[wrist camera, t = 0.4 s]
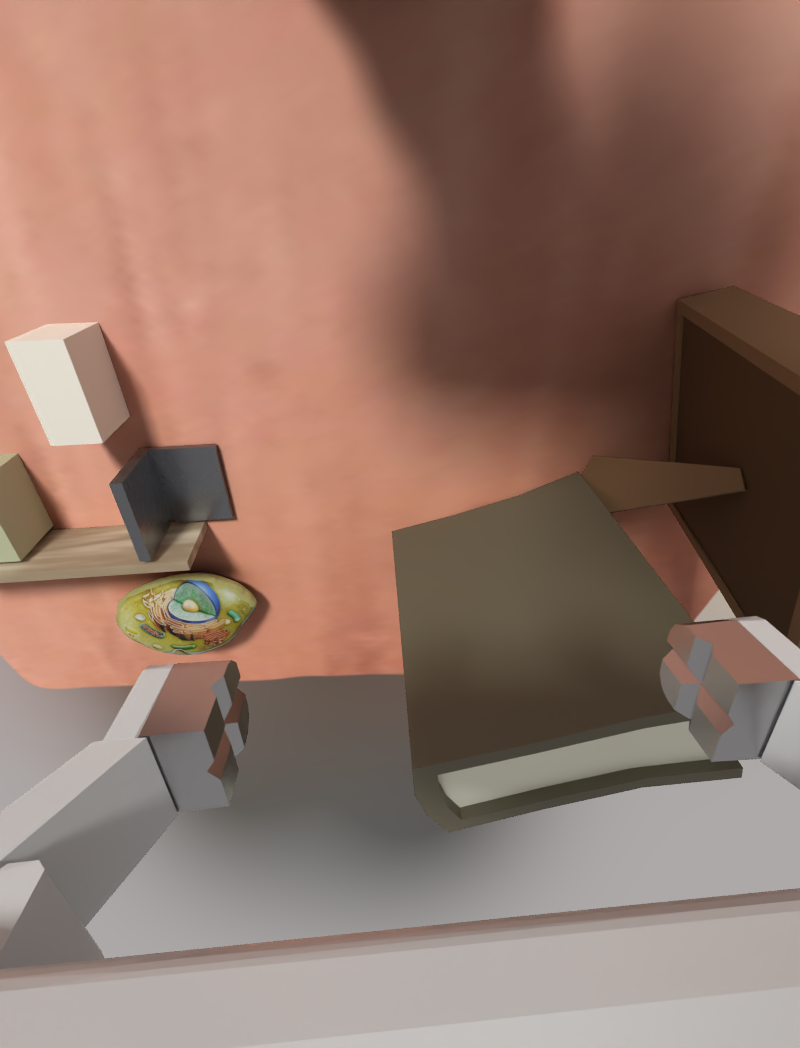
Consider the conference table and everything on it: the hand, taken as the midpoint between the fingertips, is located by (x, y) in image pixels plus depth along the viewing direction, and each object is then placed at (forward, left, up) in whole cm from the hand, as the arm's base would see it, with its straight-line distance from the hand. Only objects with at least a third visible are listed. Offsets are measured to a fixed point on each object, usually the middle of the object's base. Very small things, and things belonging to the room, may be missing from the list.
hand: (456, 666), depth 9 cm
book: (+25, +11, -38) cm, 47 cm away
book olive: (+15, -35, -38) cm, 54 cm away
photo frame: (+12, +26, -38) cm, 48 cm away
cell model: (+30, -22, -39) cm, 54 cm away
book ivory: (+4, -24, -38) cm, 46 cm away
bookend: (+16, -19, -38) cm, 45 cm away
